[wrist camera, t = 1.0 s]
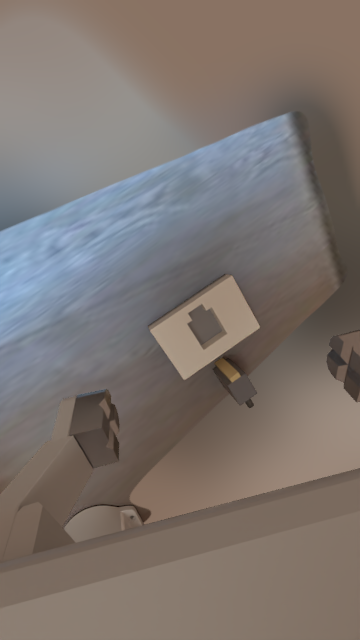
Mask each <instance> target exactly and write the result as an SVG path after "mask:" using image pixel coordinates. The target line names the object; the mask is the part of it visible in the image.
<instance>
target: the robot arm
mask: <svg viewBox="0 0 360 640" xmlns="http://www.w3.org/2000/svg"><path fill="white" fill-rule="evenodd" d="M329 345H330V347H331V348H332V350H331V351H330V352H329V353H328V355H327V365H328V369H329V371H330V372H331V374H332V375H333V376H334V378H335V379H337V380H339V381H341V382H343V383H344V389H345V390H346V391H347V392H348V393H349V394H350V395H351V397H352V398H353V399H354V400H355V401H356V402H360V330H356V331H352V332H348V333H344V334H340V335H336V336H333V337H332V338H331V339H330V343H329ZM118 433H119V417H118V413H117V409H116V407H115V405H114V404H112V403H111V395H110V393H109V391H108V390H107V389H104V390H99V391H95V392H90V393H85V394H80V395H77V396H72V397H67V398H63V399H62V401H61V402H60V405H59V409H58V413H57V417H56V421H55V425H54V429H53V433H52V437H51V441H47V442H46V443H45V444H44V445H43V446H42V447H41V448H40V449H39V451H38V452H37V453H36V454H35V455H34V456H33V457H32V459H31V460H30V461H29V462H28V463H27V464H26V466H25V467H24V468H23V469H22V470H21V471H20V472H19V474H18V475H17V476H16V477H15V478H14V479H13V481H12V482H11V483H10V484H9V485H8V486H7V487H6V489H5V490H4V491H3V492H2V493H1V494H0V640H360V468H359V469H355V470H351V471H347V472H343V473H340V474H336V475H332V476H328V477H324V478H321V479H317V480H313V481H309V482H305V483H301V484H298V485H294V486H290V487H286V488H282V489H278V490H275V491H271V492H267V493H263V494H260V495H256V496H252V497H248V498H244V499H241V500H237V501H233V502H229V503H225V504H221V505H218V506H214V507H210V508H206V509H203V510H199V511H195V512H192V513H187V514H184V515H180V516H176V517H173V518H168V519H165V520H161V521H157V522H153V523H149V524H146V525H144V523H143V521H142V519H141V518H140V516H139V514H138V512H137V510H136V509H135V507H134V506H123V507H113V506H95V507H91V508H88V509H85V510H83V511H81V512H80V513H78V514H77V515H75V516H74V517H73V518H72V519H71V520H70V521H69V522H68V523H67V525H66V526H65V528H64V529H63V528H62V527H63V525H64V523H65V521H66V519H67V518H68V516H69V514H70V512H71V510H72V508H73V507H74V505H75V503H76V501H77V499H78V498H79V496H80V494H81V492H82V490H83V489H84V487H85V485H86V483H87V481H88V479H89V478H90V476H91V474H92V472H93V468H97V467H100V466H104V465H108V464H111V463H115V462H118V461H119V442H118V439H117V437H116V436H117V434H118Z"/></svg>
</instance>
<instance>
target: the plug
mask: <svg viewBox="0 0 360 640" xmlns="http://www.w3.org/2000/svg"><path fill="white" fill-rule="evenodd" d="M215 365H216V366H217V367H215V368H214V369H213V370H214V372H215V374H216V375H217V377H218V378H219V380H220V381H221V383H222V384H223V386H224V387H225V389H226V390H227V391H228V392H229V393H230V394H231V396H232V397H233V398H234V399H235V400H236V401H237V402H238V404H239V405H242V404H243V403H244V402H245V403H246V404H247V406H248V407H249V408H251V407H253V406H254V404H253V403H252V401H251V399H250V398H251V397H253V396H254V395H255V394H257V392H256V390H255V388H254V387H253V385H252V383H251V382H250V380H249V378H248V377H247V375H246V373H245V372H243V371H242V370H241V369H240V368H239V367H238V366H237V365H235V364H234V363H233V362H232V361H231V360H230V359H229V358H228V359H227V360H225V359H223V358H221V359H219V360H218V361H216V362H215Z"/></svg>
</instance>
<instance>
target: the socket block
mask: <svg viewBox="0 0 360 640" xmlns="http://www.w3.org/2000/svg"><path fill="white" fill-rule="evenodd" d="M148 328H149V330H150V331H151V333H152V334H153V336H154V337H155V339H156V340H157V342H158V343H159V344H160V346H161V347H162V349H163V350H164V352H165V353H166V355H167V356H168V357H169V359H170V360H171V362H172V363H173V365H174V366H175V368H176V369H177V370H178V372H179V373H180V375H181V376H182V378H183V379H184V380H186V379H187V378H188V377H190V376H191V375H193V374H194V373H196V372H197V371H198V370H200V369H201V368H203V367H204V366H206V365H207V364H209V363H210V362H211V361H213V360H214V359H216V358H217V357H219V356H220V355H221V354H223V353H224V352H226V351H227V350H229V349H230V348H232V347H233V346H234V345H236V344H237V343H239V342H240V341H242V340H243V339H244V338H246V337H247V336H249V335H250V334H252V333H253V332H255V331H256V330H257V329H259V328H260V326H259V324H258V322H257V320H256V319H255V317H254V315H253V313H252V311H251V309H250V308H249V306H248V304H247V302H246V300H245V298H244V296H243V295H242V293H241V291H240V289H239V287H238V285H237V284H236V282H235V280H234V278H233V276H232V275H227V274H224V275H223V276H221V277H220V278H218V279H217V280H215V281H214V282H213V283H211V284H210V285H208V286H207V287H205V288H204V289H202V290H201V291H199V292H198V293H196V294H195V295H193V296H192V297H190V298H189V299H187V300H186V301H184V302H183V303H181V304H180V305H178V306H177V307H175V308H174V309H172V310H171V311H169V312H168V313H166V314H165V315H163V316H162V317H160V318H159V319H157V320H156V321H154V322H153V323H151V324H150V325H148Z"/></svg>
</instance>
